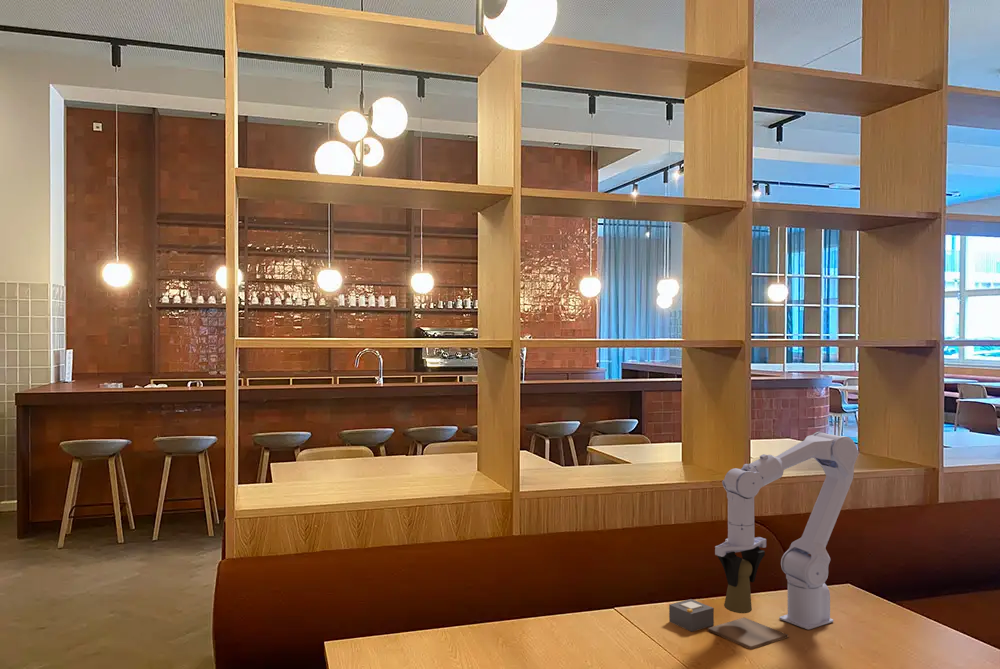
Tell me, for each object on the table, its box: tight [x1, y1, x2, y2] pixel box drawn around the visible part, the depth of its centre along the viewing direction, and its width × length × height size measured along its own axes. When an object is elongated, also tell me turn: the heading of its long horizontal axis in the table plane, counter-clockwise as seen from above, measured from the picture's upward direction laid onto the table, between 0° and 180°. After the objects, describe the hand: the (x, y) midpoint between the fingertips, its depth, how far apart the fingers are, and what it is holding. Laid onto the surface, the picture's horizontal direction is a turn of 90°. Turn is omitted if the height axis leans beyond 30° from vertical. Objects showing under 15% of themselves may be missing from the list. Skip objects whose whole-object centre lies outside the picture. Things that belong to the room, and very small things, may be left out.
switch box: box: [668, 598, 715, 632], centre depth 177 cm, size 7×7×4 cm
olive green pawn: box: [723, 558, 753, 614], centre depth 174 cm, size 6×6×11 cm
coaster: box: [707, 617, 789, 650], centre depth 171 cm, size 12×12×1 cm
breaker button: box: [681, 602, 702, 610], centre depth 177 cm, size 3×3×3 cm
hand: (741, 583), depth 173 cm, fingers closed on olive green pawn, 5 cm apart
